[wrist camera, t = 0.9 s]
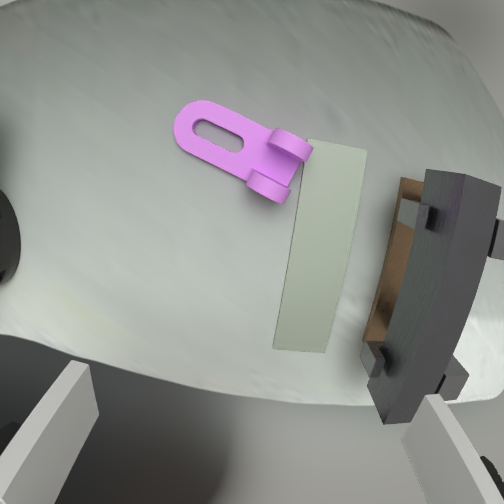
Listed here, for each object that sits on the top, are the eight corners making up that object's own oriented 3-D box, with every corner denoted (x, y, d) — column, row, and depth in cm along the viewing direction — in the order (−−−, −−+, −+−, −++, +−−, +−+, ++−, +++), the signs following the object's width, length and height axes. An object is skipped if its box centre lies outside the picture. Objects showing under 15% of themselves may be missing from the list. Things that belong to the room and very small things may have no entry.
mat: (272, 346, 38) (272, 348, 37) (307, 138, 31) (307, 138, 31) (323, 351, 38) (324, 353, 38) (366, 150, 31) (367, 150, 31)
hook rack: (340, 338, 37) (372, 417, 24) (377, 171, 32) (447, 183, 18) (409, 341, 38) (457, 409, 24) (450, 190, 32) (531, 211, 19)
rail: (366, 385, 30) (383, 424, 24) (426, 169, 24) (465, 174, 18) (399, 385, 30) (418, 421, 24) (460, 179, 24) (501, 187, 18)
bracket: (304, 150, 32) (317, 147, 25) (279, 197, 33) (285, 207, 26) (192, 94, 30) (176, 79, 23) (168, 141, 32) (146, 137, 25)
